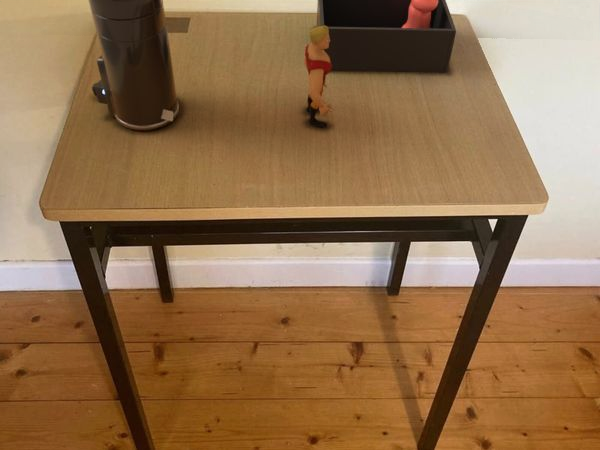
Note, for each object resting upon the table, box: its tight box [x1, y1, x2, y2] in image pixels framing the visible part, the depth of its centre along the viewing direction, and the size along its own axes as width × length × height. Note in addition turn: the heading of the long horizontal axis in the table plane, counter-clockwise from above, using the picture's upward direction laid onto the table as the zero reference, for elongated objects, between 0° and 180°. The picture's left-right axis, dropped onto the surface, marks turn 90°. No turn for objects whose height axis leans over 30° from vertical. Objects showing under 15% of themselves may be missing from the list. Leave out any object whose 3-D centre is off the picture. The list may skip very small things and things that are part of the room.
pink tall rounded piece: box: [402, 0, 438, 29], centre depth 101 cm, size 5×5×15 cm
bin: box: [316, 0, 457, 73], centre depth 104 cm, size 21×13×8 cm, turn 91°
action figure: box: [303, 25, 333, 128], centre depth 88 cm, size 10×4×15 cm, turn 6°
